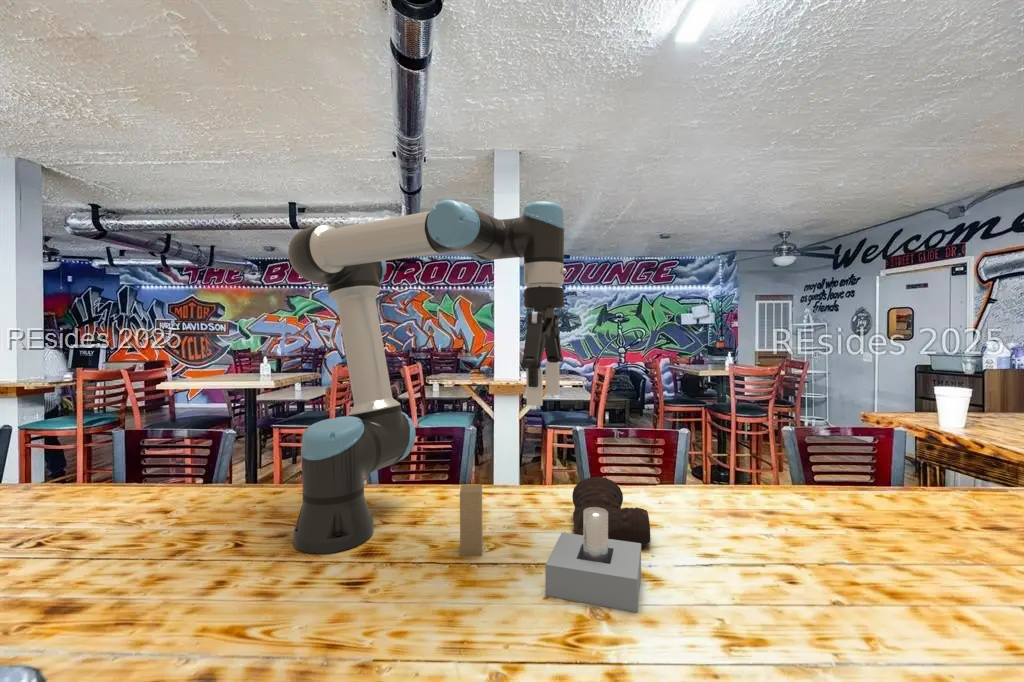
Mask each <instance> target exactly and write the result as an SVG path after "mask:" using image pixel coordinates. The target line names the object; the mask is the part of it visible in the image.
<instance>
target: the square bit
mask: <svg viewBox="0 0 1024 682" xmlns="http://www.w3.org/2000/svg"><path fill="white" fill-rule="evenodd" d="M483 531H484V530H483V484H461V486H460V491H459V553H460V554H459V556H460V557H480V556H481V557H482V556H483V543H484V542H483V539H484V537H483V536H484V535H483Z"/></svg>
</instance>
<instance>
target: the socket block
mask: <svg viewBox="0 0 1024 682" xmlns="http://www.w3.org/2000/svg"><path fill="white" fill-rule="evenodd" d="M641 578H642V545H641V543H635V542H628V541H620V540H613V539H608V564H607V563H601V562H594V561H588V560H583V535H577V534H575V533H570V532H561V533H560V535H559V537H558V538H557V541H556V543H555V544H554V547H553V549H552V550H551V553H550V555H549V557H548V559H547V560H546V562H545V596H547V597H551V598H556V599H562V600H567V601H572V602H573V601H574V602H577V603H578V602H579V603H584V604H589V605H594V606H595V605H596V606H599V607H606V608H610V609H615V610H622V611H628V612H632V613H633V612H634V613H638V606H639V599H640V598H639V597H640V587H641Z"/></svg>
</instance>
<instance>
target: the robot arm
mask: <svg viewBox="0 0 1024 682" xmlns="http://www.w3.org/2000/svg"><path fill="white" fill-rule="evenodd" d="M564 219H565V218H564V210H563V207H562V206H561V205H560V204H558V203H557V202H553V201H544V200H543V201H542V200H541V201H538V200H537V201H533V202H531V203H527V204H526V205H525V206H524V207H523V212H522V216H519V217H514V218H502V219H500V218H499V219H498V218H496V217H494V216H491V215H490V214H487V213H485V212H482V211H480V210H478V209H476V208H474V207H472V206H470V205H469V204H467V203H466V202H462V201H458V200H454V199H445V200H441V201H439V202H438V203H436V204H435V205H434V206H433V207H432V208H431V209H430V211H423V212H418V213H413V214H412V213H411V214H407V215H402V216H395V217H390V218H384V219H380V220H374V221H373V220H372V221H368V222H363V223H357V224H351V225H346V226H345V225H344V226H340V227H334V226H332V225H329V224H321V225H316V226H311V227H306V228H303V229H301V230H300V231H298V232H297V233H295V234H294V236H293V237H292V238H291V241H290V242H289V245H288V251H287V253H288V254H287V255H288V260H289V262H290V265H291V267H292V268H293V270H294V271H295V272H296V274H298V275H299V277H301V278H303V279H305V280H307V281H309V282H313V283H316V284H323V285H326V286H327V288H326V289H327V291H328V292H327V293H328V298H330V299H332V300H333V301H334V302H336V304H337V311H338V317H339V321H340V327H341V333H342V340H343V346H344V353H345V359H346V364H347V368H348V369H347V370H348V376H349V381H350V388H351V393H352V394H351V395H352V400H353V407H352V408H351V409H350V411H349V412H348V416H347V415H346V416H337V417H334V418H332V417H331V418H327V419H322V420H320V421H316V422H314V423H313V424H311V425H309V426H308V427H306V429H305V430H304V432H303V434H302V439H301V447H300V455H301V466H302V467H301V472H302V474H301V475H302V476H301V477H302V479H301V480H302V482H301V483H302V505H301V508H300V510H299V515H298V517H297V522H296V525H295V527H294V529H293V546H294V547H295V548H296V549H297V550H299V551H301V552H303V553H308V554H333V553H337V552H343V551H346V550H350V549H353V548H355V547H357V546H360V545H361V544H364V543H365V542H366V541H368V540H369V539H370V538H371V537H372V535H374V518H373V516H372V515H371V512H370V509H369V505H368V503H367V500H366V496H365V476H366V475H369V474H371V473H373V472H375V471H378V470H381V469H383V468H386V467H390V466H393V465H395V464H397V463H398V462H400V461H402V460H403V459H405V458H406V457H407V456H409V455H410V453H411V451H412V449H413V448H414V447H415V442H416V436H417V435H416V433H417V432H416V427H415V424H414V422H413V420H412V418H410V417H409V415H408V414H406V413H405V412H403V411H402V407H401V406H402V405H401V403H400V402H399V401H398V400H396V399H394V397H393V395H392V394H393V393H392V388H391V382H390V375H389V370H388V364H387V359H386V353H385V346H384V342H383V341H384V340H383V336H382V330H381V325H380V323H381V322H380V317H379V313H378V307H377V300H376V297H377V296H378V294H379V293H380V292H381V284H382V282H383V281H384V279H385V277H384V276H385V275H386V274H387V262H386V261H393V260H399V259H400V260H401V259H405V258H413V257H419V256H421V257H422V256H429V255H434V254H436V255H437V254H443V253H450V252H451V253H453V252H460V251H461V252H466V253H467V255H469V256H470V257H469V258H471V260H474V261H485V262H486V261H487V262H488V261H489V262H490V261H494V260H503V259H515V258H523V285H524V286H526V288H525V289H524V290H523V306H524V307H525V308H526V309H532V310H533V311H528V313H527V325H526V333H525V341H524V347H523V348H524V349H523V356H522V362H520V363H521V369H526V406H536V407H539V406H540V407H542V406H544V405H543V404H544V402H543V400H544V399H543V394H544V393H543V387H544V386H543V379H544V378H543V371H544V370H543V369H544V368H543V367H542V362H543V356H544V352H545V356H546V361H547V362H545V395H553V396H554V395H555V396H558V395H560V363H564V357H563V354H562V353H563V352H562V346H561V337H560V335H561V334H560V328H559V314H558V313H555V312H554V309H562V308H563V307H564V306H565V290H564V288H563V287H561V286H563V285H564V283H565V279H564V278H565V277H564V275H565V274H567V271H568V270H567V269H566V268H565V267H564V263H565V260H564V259H565V258H564V256H565V251H564V250H565V230H566V228H565V223H564Z"/></svg>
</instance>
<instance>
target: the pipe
mask: <svg viewBox="0 0 1024 682" xmlns="http://www.w3.org/2000/svg"><path fill="white" fill-rule="evenodd" d="M622 491H623V490H622V489H621V487H620V486H619V485H618V484H617V483H616V482H615V481H613V480H612V479H609V478H606V477H604V476H603V477H602V476H593V477H588V478H587V477H586V478H584V479H581V481H579V482H578V483H577V484H576V485H575V486H574V487H573V491H572V496H571V497H572V503H573V506H574V510H573V513H572V519H573V528H572V529H573V531H572V532H573V534H577V535H583V511H584V509H586V508H589V507H599V508H603V509H605V510H607V511H608V539H613V540H620V541H628V542H635V543H641V546H646V545H648V544H650V543H651V527H650V526H651V525H650V524H651V523H650V516H649V512H648V510H647V509H644V508H641V507H637V506H636V507H628V506H627V507H622V505H623V503H624V493H623V492H622Z"/></svg>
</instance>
